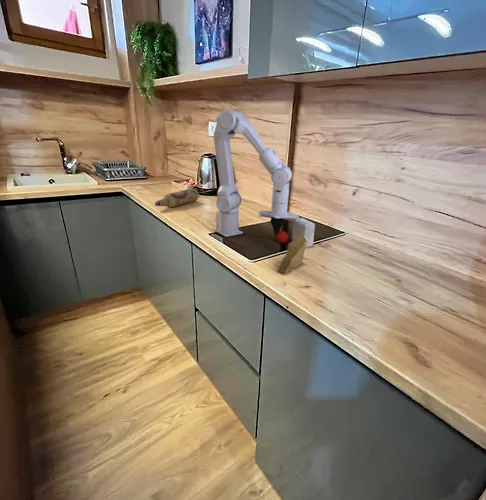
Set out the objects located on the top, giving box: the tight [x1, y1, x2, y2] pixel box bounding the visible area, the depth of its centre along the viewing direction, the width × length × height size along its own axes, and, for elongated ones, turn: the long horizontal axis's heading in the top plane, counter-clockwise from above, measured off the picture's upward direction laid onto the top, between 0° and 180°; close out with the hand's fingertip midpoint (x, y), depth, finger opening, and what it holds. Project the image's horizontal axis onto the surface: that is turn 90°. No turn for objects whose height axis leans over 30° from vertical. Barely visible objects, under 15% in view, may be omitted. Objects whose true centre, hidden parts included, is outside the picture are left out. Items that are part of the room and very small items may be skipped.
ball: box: [274, 230, 289, 244], centre depth 113 cm, size 5×5×5 cm
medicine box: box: [291, 217, 316, 248], centre depth 111 cm, size 8×4×9 cm, turn 29°
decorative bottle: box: [154, 188, 200, 208], centre depth 152 cm, size 26×8×7 cm, turn 149°
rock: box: [277, 237, 307, 274], centre depth 93 cm, size 11×9×10 cm
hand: (276, 237), depth 114 cm, fingers closed, pressing on ball
